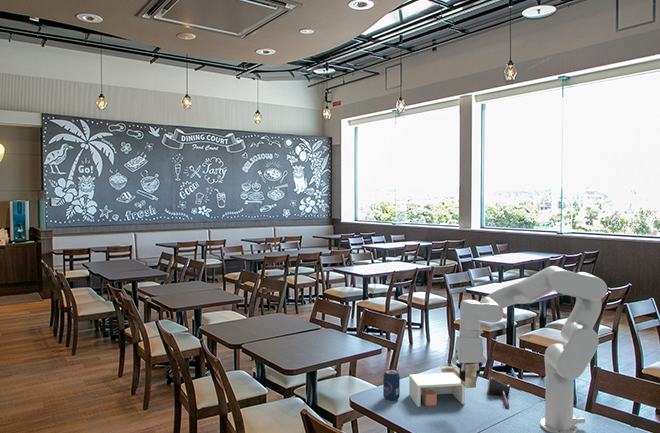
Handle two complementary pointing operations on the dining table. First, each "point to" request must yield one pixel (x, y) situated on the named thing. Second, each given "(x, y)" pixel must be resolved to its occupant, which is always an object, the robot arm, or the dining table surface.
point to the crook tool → (469, 374)
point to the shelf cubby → (435, 385)
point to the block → (429, 397)
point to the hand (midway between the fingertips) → (468, 379)
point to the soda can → (391, 385)
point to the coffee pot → (498, 389)
